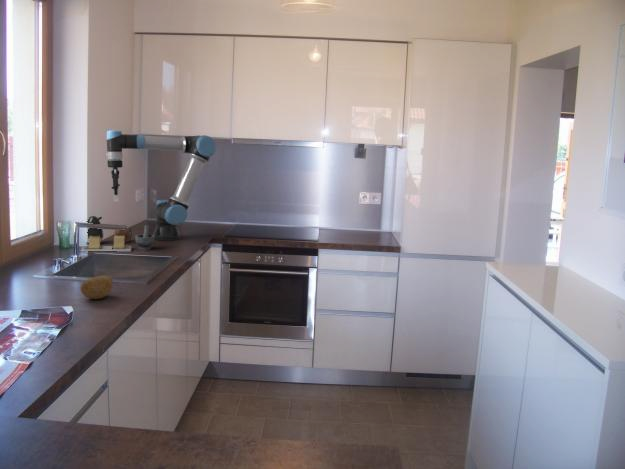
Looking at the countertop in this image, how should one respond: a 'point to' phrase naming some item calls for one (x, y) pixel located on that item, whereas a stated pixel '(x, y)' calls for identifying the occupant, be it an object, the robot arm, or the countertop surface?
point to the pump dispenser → (94, 230)
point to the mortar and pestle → (144, 239)
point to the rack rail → (105, 248)
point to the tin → (124, 234)
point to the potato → (97, 287)
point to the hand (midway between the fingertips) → (116, 199)
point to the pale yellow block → (94, 242)
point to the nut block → (119, 242)
